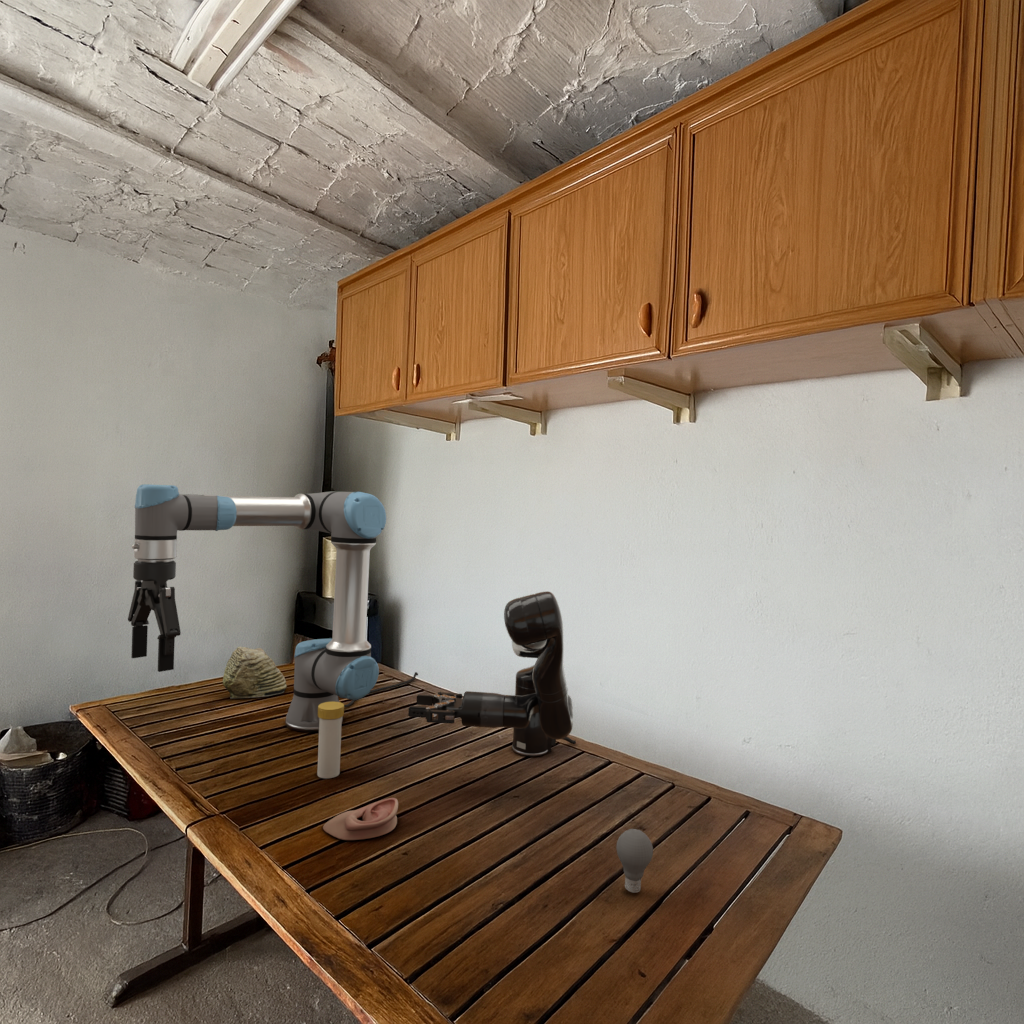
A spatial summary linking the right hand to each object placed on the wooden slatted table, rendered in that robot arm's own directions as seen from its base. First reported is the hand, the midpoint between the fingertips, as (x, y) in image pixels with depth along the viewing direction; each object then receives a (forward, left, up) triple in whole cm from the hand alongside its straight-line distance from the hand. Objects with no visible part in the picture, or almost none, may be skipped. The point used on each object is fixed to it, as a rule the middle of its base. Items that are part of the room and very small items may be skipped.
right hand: (412, 705), depth 144 cm
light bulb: (-26, +52, -17) cm, 60 cm away
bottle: (+17, -8, -17) cm, 25 cm away
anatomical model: (+14, +18, -17) cm, 28 cm away
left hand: (+53, -7, +11) cm, 55 cm away
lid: (+17, -8, -2) cm, 19 cm away
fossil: (+33, -72, -17) cm, 81 cm away
